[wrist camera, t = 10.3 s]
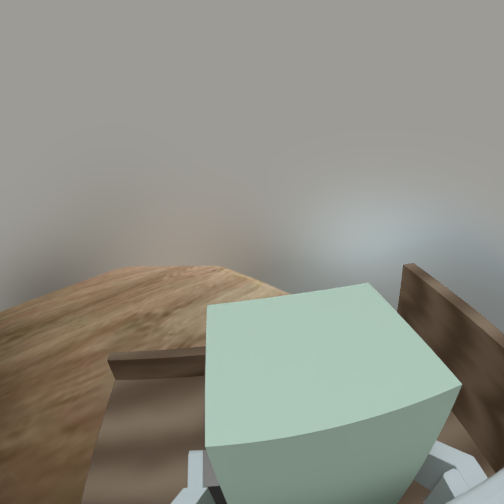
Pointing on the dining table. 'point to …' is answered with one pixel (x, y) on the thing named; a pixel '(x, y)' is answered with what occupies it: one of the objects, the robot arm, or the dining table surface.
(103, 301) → the dining table surface
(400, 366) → the block
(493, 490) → the robot arm
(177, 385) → the lane shelf
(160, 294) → the dining table surface
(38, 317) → the dining table surface
